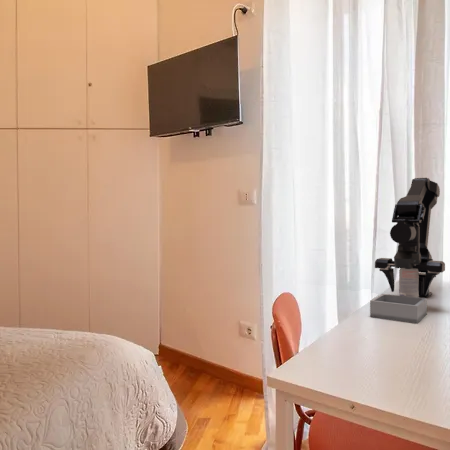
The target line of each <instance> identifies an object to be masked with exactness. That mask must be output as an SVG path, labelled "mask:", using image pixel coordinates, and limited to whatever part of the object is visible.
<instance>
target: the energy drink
mask: <svg viewBox="0 0 450 450" xmlns="http://www.w3.org/2000/svg"><path fill="white" fill-rule="evenodd" d="M419 273H420V272H419V271H418V268H411V269H406V268H399V270H398V274H399V275H398V277H399V278H398V279H399V280H398V283H399V286H398V287H399V289H398V290H399V291H398V295H399V296H409V297H418V298H420V296H419Z"/></svg>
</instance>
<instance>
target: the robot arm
mask: <svg viewBox="0 0 450 450" xmlns="http://www.w3.org/2000/svg"><path fill="white" fill-rule="evenodd" d="M440 192H441V189H440V186H439V184H438V182H435V181H432V180H430V178H429V177H415V178H412V180H411V184H410V187H409V190H408V191H407V194H406V196H402V197H401V198H399V199H398V200H397V201H396V204H394V208H393V214H392V218H391V223H396V224H394V225H393V226H392V227H391V229H390V231H389V236H390V239H391V240H392V241H393V242H394V243H396V244H398V246H397V251H396V253H395V255H394V257H393V258H392V257H391V258H387V257H379V258H376V259H375V260H374V268H375V269H379V272H382V273H383V274H384V276H385V277H386V280H387V282H388V285H389V288H390V291H391V292H392V293H394V292H395V270H394V269H400V268H406V269H411V268H418V271H419V297H426V298H427V297H430V296H431V295H432V294H433V292H432V291H430V287H431V284H432V282H433V280H434V279H435V278H436V277H437V276H438V275H440V273H443V272H446V263H445V262H444V261H443V260H434V259H433V258H432V254H431V253H430V251H429V249H428V246H429V245H428V244H429V236H430V222H431V214H432V209H433V208H434V207H435V206H436V205H437V202H438V198H439V197H440V195H441V193H440Z"/></svg>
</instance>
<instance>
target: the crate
mask: <svg viewBox="0 0 450 450" xmlns="http://www.w3.org/2000/svg"><path fill="white" fill-rule="evenodd" d="M427 299H428V298H427V297H426V298H425V297H419V298H418V297H409V296H399V294H388V293H381V294H380V295H377V296H376V297H374V298H372V299H371V300H370V303H369V305H370V306H369V317H371V318H377V319H381V320H382V319H383V320H390V321H397V322H404V323H410V324H411V323H412V324H419V322H421V321H422V319H423V318H425V317H426V315H427V313H428V312H427V306H428V305H427V304H428V303H427Z"/></svg>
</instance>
